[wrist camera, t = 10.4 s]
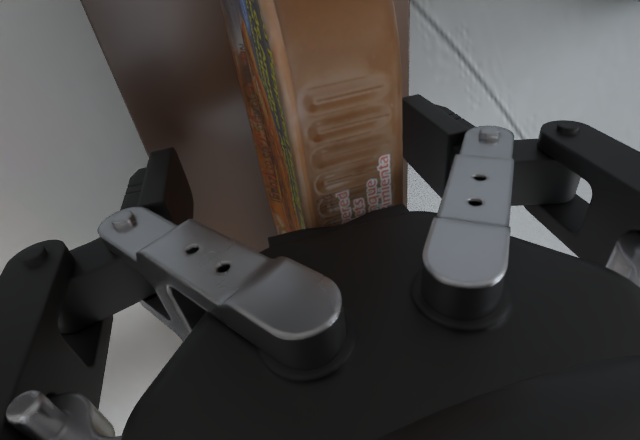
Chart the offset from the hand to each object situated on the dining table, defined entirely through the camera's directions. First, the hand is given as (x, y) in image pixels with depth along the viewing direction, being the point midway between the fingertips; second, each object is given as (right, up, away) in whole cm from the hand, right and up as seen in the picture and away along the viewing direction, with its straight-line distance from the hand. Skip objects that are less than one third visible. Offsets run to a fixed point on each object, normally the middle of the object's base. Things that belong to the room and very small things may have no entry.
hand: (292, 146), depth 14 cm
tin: (0, +1, +2) cm, 3 cm away
